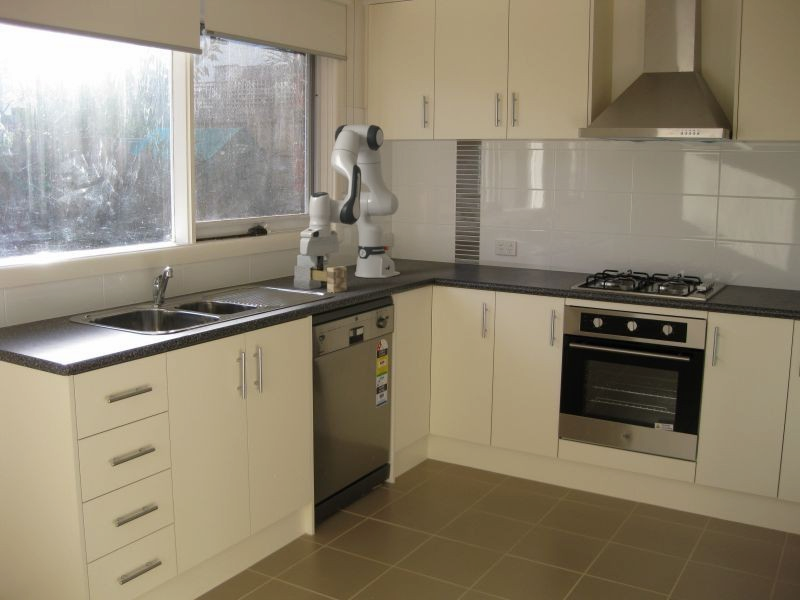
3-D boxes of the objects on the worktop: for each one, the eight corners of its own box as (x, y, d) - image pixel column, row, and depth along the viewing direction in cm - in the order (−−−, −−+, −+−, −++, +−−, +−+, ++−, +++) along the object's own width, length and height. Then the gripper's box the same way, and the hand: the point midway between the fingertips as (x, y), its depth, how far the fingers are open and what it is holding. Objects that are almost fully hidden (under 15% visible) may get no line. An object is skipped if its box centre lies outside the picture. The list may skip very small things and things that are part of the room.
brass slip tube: (306, 277, 371) (306, 253, 369) (333, 280, 362) (333, 256, 360) (299, 278, 368) (299, 254, 366) (326, 281, 358) (326, 257, 357)
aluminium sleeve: (305, 285, 374) (305, 264, 372) (320, 287, 368) (320, 266, 367) (294, 287, 368) (293, 266, 367) (309, 289, 363) (309, 267, 362)
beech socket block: (340, 289, 362) (340, 265, 361) (346, 290, 360) (346, 266, 359) (327, 291, 356) (327, 267, 355) (333, 292, 354) (333, 268, 353)
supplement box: (313, 284, 376) (313, 255, 374) (296, 284, 378) (296, 255, 376) (318, 282, 383) (318, 254, 381) (302, 281, 385) (301, 253, 383)
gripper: (331, 229, 370) (331, 262, 372) (297, 233, 354) (297, 266, 356) (342, 230, 366) (342, 263, 369) (308, 233, 350) (309, 268, 353)
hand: (320, 265), depth 362 cm, fingers open, 5 cm apart
